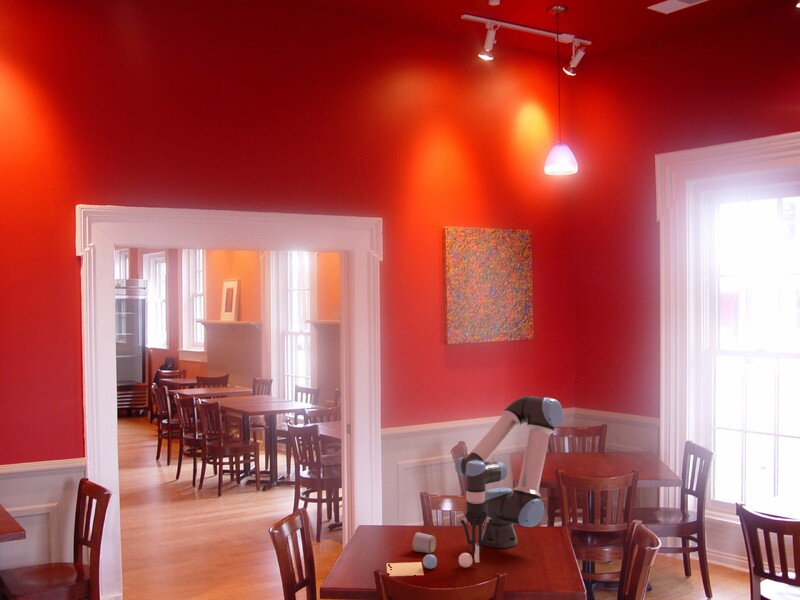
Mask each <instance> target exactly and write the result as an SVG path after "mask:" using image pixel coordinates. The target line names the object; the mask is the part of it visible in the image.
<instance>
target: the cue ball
mask: <svg viewBox="0 0 800 600" xmlns="http://www.w3.org/2000/svg"><path fill="white" fill-rule="evenodd" d="M458 564H459V565H460V566H461V567H462V568H469V567H471V566H472V564H473V557H472V555H471V554H470V553H469V552H462V553H461V554H460V555H459V556H458Z"/></svg>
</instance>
